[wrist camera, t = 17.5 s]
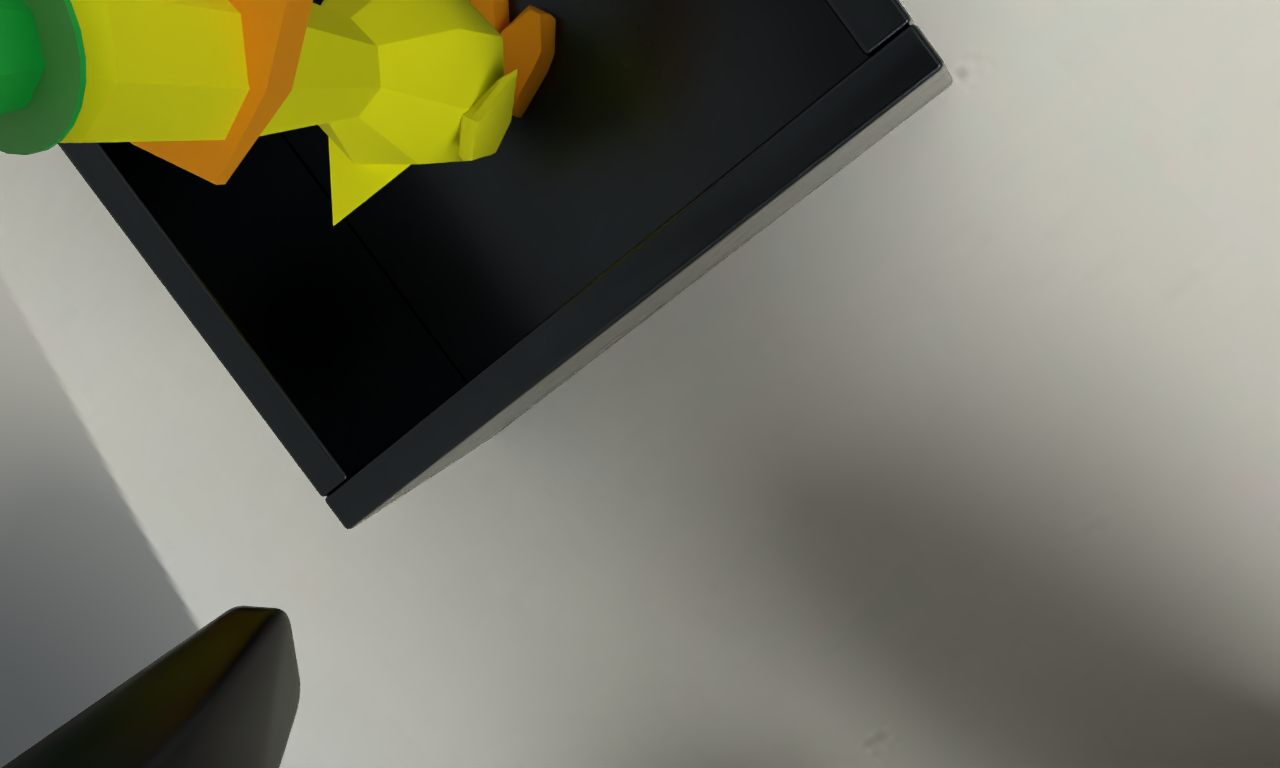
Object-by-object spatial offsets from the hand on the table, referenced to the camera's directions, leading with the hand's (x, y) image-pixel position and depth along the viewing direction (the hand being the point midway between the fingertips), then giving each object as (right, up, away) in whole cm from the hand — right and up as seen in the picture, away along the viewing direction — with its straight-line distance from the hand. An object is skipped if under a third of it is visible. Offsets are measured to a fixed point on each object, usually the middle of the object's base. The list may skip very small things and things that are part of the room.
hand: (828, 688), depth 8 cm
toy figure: (-4, +9, +11) cm, 15 cm away
